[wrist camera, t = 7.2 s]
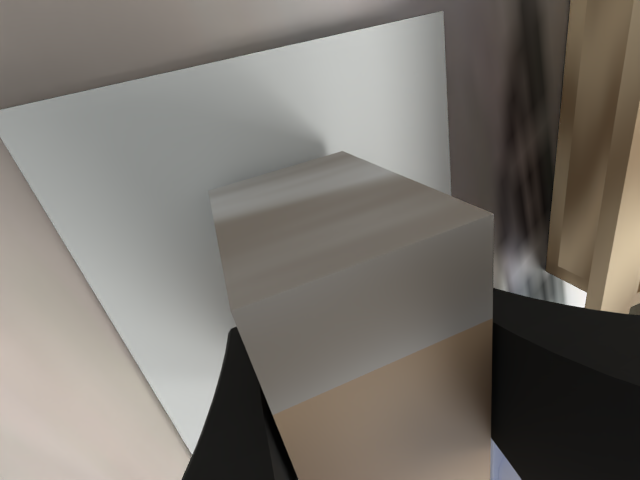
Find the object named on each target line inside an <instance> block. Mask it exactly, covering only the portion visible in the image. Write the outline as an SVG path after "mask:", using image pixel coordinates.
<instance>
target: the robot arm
mask: <svg viewBox="0 0 640 480" xmlns="http://www.w3.org/2000/svg"><path fill="white" fill-rule="evenodd" d="M182 480H298V477H297V474H296V472H295V469H294V467H293V465H292V462H291V460H290V457H289V455H288V452H287V450H286V447H285V445H284V442H283V440H282V437H281V435H280V432H279V430H278V427H277V425H276V422H275V420H274V418H273V415H272V413H271V410H270V408H269V405H268V403H267V400H266V398H265V395H264V393H263V390H262V388H261V385H260V383H259V380H258V378H257V375H256V373H255V371H254V368H253V366H252V363H251V361H250V358H249V356H248V353H247V351H246V348H245V346H244V343H243V341H242V338H241V336H240V333H239V331H238V328H237V327H234V328H231V329H230V331H229V333H228V338H227V344H226V350H225V355H224V359H223V364H222V368H221V372H220V375H219V379H218V383H217V386H216V390H215V393H214V397H213V400H212V403H211V406H210V409H209V412H208V415H207V417H206V420H205V423H204V426H203V429H202V432H201V434H200V437H199V440H198V442H197V445H196V447H195V450H194V452H193V455H192V457H191V459H190V462H189V464H188V466H187V469H186V471H185V473H184V475H183V478H182ZM490 480H640V315H631V314H623V313H616V312H608V311H601V310H594V309H587V308H581V307H575V306H569V305H564V304H559V303H554V302H549V301H544V300H539V299H534V298H530V297H525V296H521V295H518V294H514V293H510V292H506V291H502V290H498V289H495V288H493V325H492V395H491V464H490Z"/></svg>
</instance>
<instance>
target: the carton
mask: <svg viewBox="0 0 640 480" xmlns="http://www.w3.org/2000/svg"><path fill="white" fill-rule="evenodd" d="M546 272H548V273H550V274H552V275H554V276H556V277H558V278H560V279H562V280H564V281H566V282H568V283H570V284H572V285H573V286H575V287H577V288H579V289H581V290H583V291H585V292H587V297H586V303H585V308H587V309H594V310H601V311H608V312H616V313H623V314H629V310H630V307H632V306H634V305H636V304H638V303H640V0H571V1H570V12H569V23H568V33H567V44H566V55H565V66H564V77H563V87H562V98H561V109H560V120H559V131H558V142H557V152H556V163H555V174H554V185H553V196H552V206H551V217H550V228H549V239H548V250H547V261H546Z"/></svg>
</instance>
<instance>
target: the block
mask: <svg viewBox="0 0 640 480" xmlns="http://www.w3.org/2000/svg"><path fill="white" fill-rule="evenodd" d="M208 193H209V198H210V204H211V209H212V214H213V220H214V225H215V230H216V236H217V241H218V247H219V252H220V257H221V263H222V268H223V273H224V279H225V284H226V290H227V295H228V300H229V306H230V311H231V314H232V316H233V319H234V321H235V324H236V326H237V328H238V331H239V333H240V336H241V338H242V341H243V343H244V346H245V348H246V351H247V353H248V356H249V358H250V361H251V363H252V366H253V368H254V371H255V373H256V375H257V378H258V380H259V383H260V385H261V388H262V390H263V393H264V395H265V398H266V400H267V403H268V405H269V408H270V410H271V413H272V415H273V418H274V420H275V422H276V425H277V427H278V430H279V432H280V435H281V437H282V440H283V442H284V445H285V447H286V450H287V452H288V455H289V457H290V460H291V462H292V465H293V467H294V469H295V472H296V474H297V477H298V479H299V480H490V464H491V395H492V325H493V256H494V213H491V212H489V211H486V210H484V209H482V208H479V207H477V206H474V205H472V204H469V203H467V202H465V201H462V200H460V199H457V198H455V197H452V196H450V195H448V194H445V193H443V192H440V191H438V190H436V189H433V188H431V187H428V186H426V185H423V184H421V183H419V182H416V181H414V180H411V179H409V178H407V177H404V176H402V175H399V174H397V173H394V172H392V171H390V170H387V169H385V168H382V167H380V166H378V165H375V164H373V163H370V162H368V161H365V160H363V159H361V158H358V157H356V156H353V155H351V154H349V153H346V152H344V151H341V152H337V153H334V154H331V155H327V156H324V157H321V158H317V159H314V160H310V161H307V162H304V163H300V164H297V165H294V166H290V167H287V168H283V169H280V170H277V171H273V172H270V173H267V174H263V175H260V176H256V177H253V178H250V179H246V180H243V181H240V182H236V183H233V184H229V185H226V186H223V187H219V188H216V189H213V190H209V191H208Z"/></svg>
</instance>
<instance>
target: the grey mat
mask: <svg viewBox="0 0 640 480" xmlns="http://www.w3.org/2000/svg"><path fill="white" fill-rule="evenodd" d="M0 138H1V139H2V141H3V143H4V144H5V146H6V148H7V149H8V151H9V152H10V154H11V156H12V157H13V159H14V161H15V162H16V164H17V166H18V167H19V169H20V171H21V172H22V174H23V176H24V177H25V179H26V181H27V182H28V184H29V186H30V187H31V189H32V191H33V192H34V194H35V196H36V197H37V199H38V201H39V202H40V204H41V205H42V207H43V209H44V210H45V212H46V214H47V215H48V217H49V219H50V220H51V222H52V224H53V225H54V227H55V229H56V230H57V232H58V234H59V235H60V237H61V239H62V240H63V242H64V244H65V245H66V247H67V249H68V250H69V252H70V254H71V255H72V257H73V258H74V260H75V262H76V263H77V265H78V267H79V268H80V270H81V272H82V273H83V275H84V277H85V278H86V280H87V282H88V283H89V285H90V287H91V288H92V290H93V292H94V293H95V295H96V297H97V298H98V300H99V302H100V303H101V305H102V306H103V308H104V310H105V311H106V313H107V315H108V316H109V318H110V320H111V321H112V323H113V325H114V326H115V328H116V330H117V331H118V333H119V335H120V336H121V338H122V340H123V341H124V343H125V345H126V346H127V348H128V350H129V351H130V353H131V355H132V356H133V358H134V359H135V361H136V363H137V364H138V366H139V368H140V369H141V371H142V373H143V374H144V376H145V378H146V379H147V381H148V383H149V384H150V386H151V388H152V389H153V391H154V393H155V394H156V396H157V398H158V399H159V401H160V403H161V404H162V406H163V408H164V409H165V411H166V412H167V414H168V416H169V417H170V419H171V421H172V422H173V424H174V426H175V427H176V429H177V431H178V432H179V434H180V436H181V437H182V439H183V441H184V442H185V444H186V446H187V447H188V449H189V451H190V452H191V454H192V455H193V452H194V450H195V447H196V445H197V442H198V440H199V437H200V434H201V432H202V429H203V426H204V423H205V420H206V417H207V415H208V412H209V409H210V406H211V403H212V400H213V397H214V393H215V390H216V386H217V383H218V379H219V375H220V372H221V368H222V364H223V359H224V355H225V350H226V344H227V338H228V333H229V331H230V329H231V328H234V327H237V326H236V324H235V321H234V319H233V316H232V314H231V311H230V306H229V300H228V295H227V290H226V284H225V279H224V273H223V268H222V263H221V257H220V252H219V247H218V241H217V236H216V230H215V225H214V220H213V214H212V209H211V204H210V198H209V193H208V191H209V190H213V189H216V188H219V187H223V186H226V185H229V184H233V183H236V182H240V181H243V180H246V179H250V178H253V177H256V176H260V175H263V174H267V173H270V172H273V171H277V170H280V169H283V168H287V167H290V166H294V165H297V164H300V163H304V162H307V161H310V160H314V159H317V158H321V157H324V156H327V155H331V154H334V153H337V152H341V151H344V152H346V153H349V154H351V155H353V156H356V157H358V158H361V159H363V160H365V161H368V162H370V163H373V164H375V165H378V166H380V167H382V168H385V169H387V170H390V171H392V172H394V173H397V174H399V175H402V176H404V177H407V178H409V179H411V180H414V181H416V182H419V183H421V184H423V185H426V186H428V187H431V188H433V189H436V190H438V191H440V192H443V193H445V194H448V195H450V196H451V173H450V150H449V127H448V104H447V81H446V58H445V36H444V13H443V11H440V12H435V13H431V14H426V15H422V16H418V17H413V18H409V19H404V20H400V21H395V22H391V23H386V24H382V25H377V26H373V27H368V28H364V29H359V30H355V31H350V32H346V33H341V34H337V35H332V36H328V37H324V38H319V39H315V40H310V41H306V42H301V43H297V44H292V45H288V46H283V47H279V48H274V49H270V50H265V51H261V52H256V53H252V54H247V55H243V56H239V57H234V58H230V59H225V60H221V61H216V62H212V63H207V64H203V65H198V66H194V67H189V68H185V69H180V70H176V71H171V72H167V73H162V74H158V75H153V76H149V77H145V78H140V79H136V80H131V81H127V82H122V83H118V84H113V85H109V86H104V87H100V88H95V89H91V90H86V91H82V92H77V93H73V94H68V95H64V96H59V97H55V98H51V99H46V100H42V101H37V102H33V103H28V104H24V105H19V106H15V107H10V108H6V109H1V110H0Z"/></svg>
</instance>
